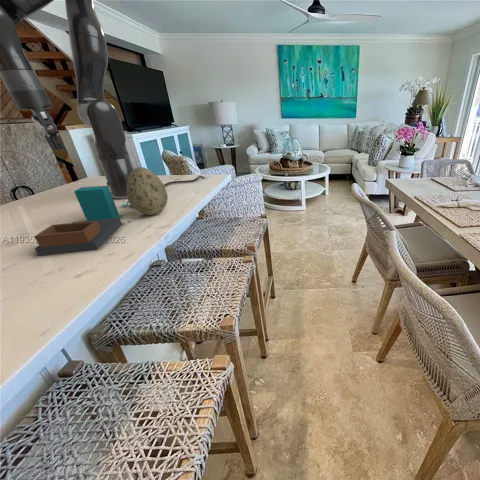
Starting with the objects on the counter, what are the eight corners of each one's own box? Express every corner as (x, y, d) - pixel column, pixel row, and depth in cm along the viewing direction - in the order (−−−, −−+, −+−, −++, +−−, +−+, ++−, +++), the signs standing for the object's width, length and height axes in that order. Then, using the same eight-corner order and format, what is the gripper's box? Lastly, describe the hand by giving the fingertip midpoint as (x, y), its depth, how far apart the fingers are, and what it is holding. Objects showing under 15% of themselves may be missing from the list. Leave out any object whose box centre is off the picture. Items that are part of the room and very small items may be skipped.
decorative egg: (162, 219, 82) (148, 170, 75) (126, 220, 81) (108, 171, 74) (177, 207, 91) (165, 163, 84) (145, 208, 91) (130, 163, 84)
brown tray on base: (74, 228, 76) (67, 212, 74) (122, 224, 79) (116, 208, 76) (38, 256, 62) (27, 237, 60) (97, 249, 65) (89, 231, 63)
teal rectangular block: (94, 218, 83) (81, 187, 78) (119, 216, 84) (108, 185, 80) (88, 223, 79) (73, 191, 75) (114, 221, 81) (102, 189, 76)
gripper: (47, 86, 73) (78, 147, 80) (41, 92, 81) (69, 147, 89) (9, 87, 68) (45, 152, 75) (7, 93, 76) (40, 151, 84)
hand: (58, 149), depth 82 cm, fingers open, 8 cm apart
